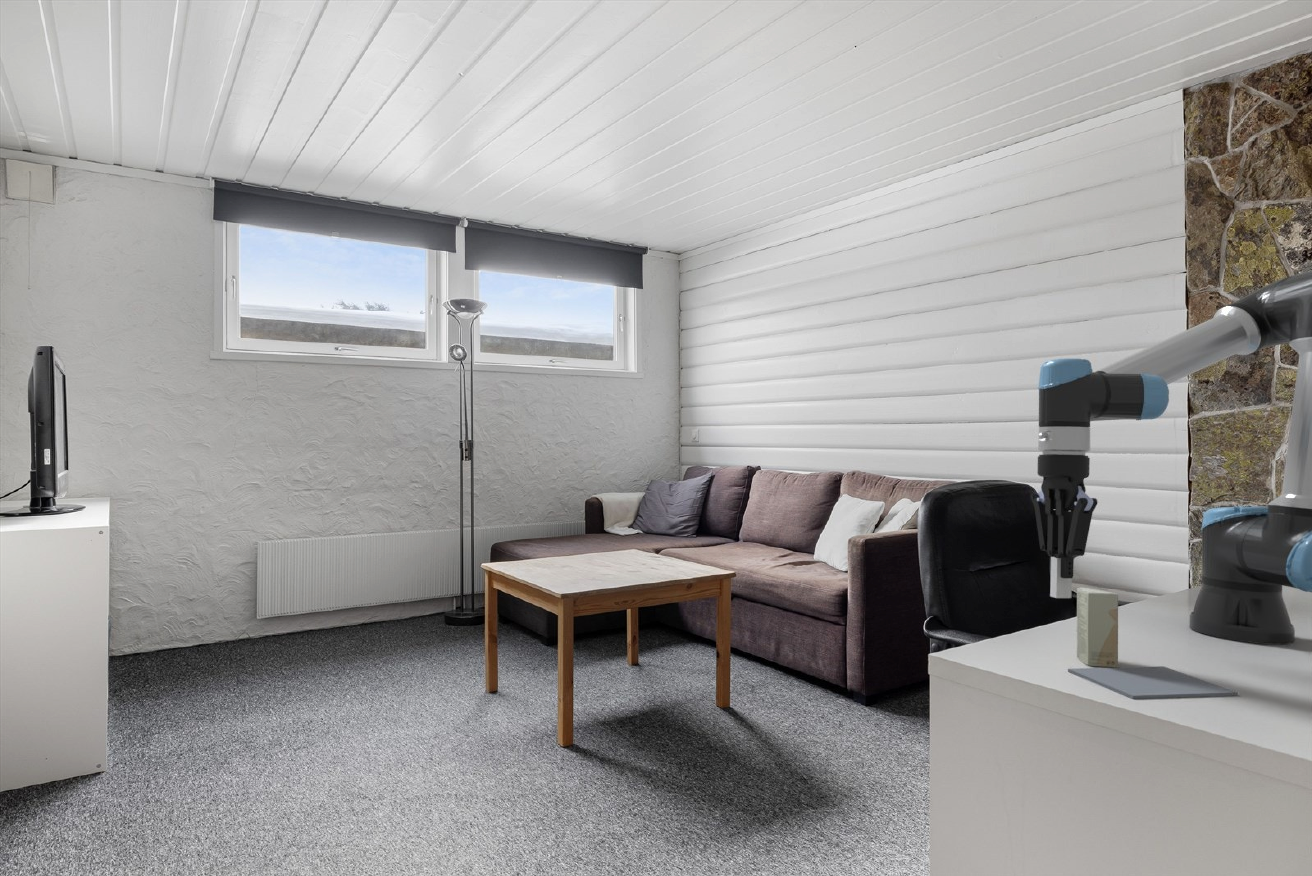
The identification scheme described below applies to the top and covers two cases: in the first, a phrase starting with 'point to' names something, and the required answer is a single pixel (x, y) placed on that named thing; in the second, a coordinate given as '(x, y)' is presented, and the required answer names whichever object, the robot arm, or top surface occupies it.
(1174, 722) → the top surface
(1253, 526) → the robot arm
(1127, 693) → the mat
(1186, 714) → the top surface
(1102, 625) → the box
